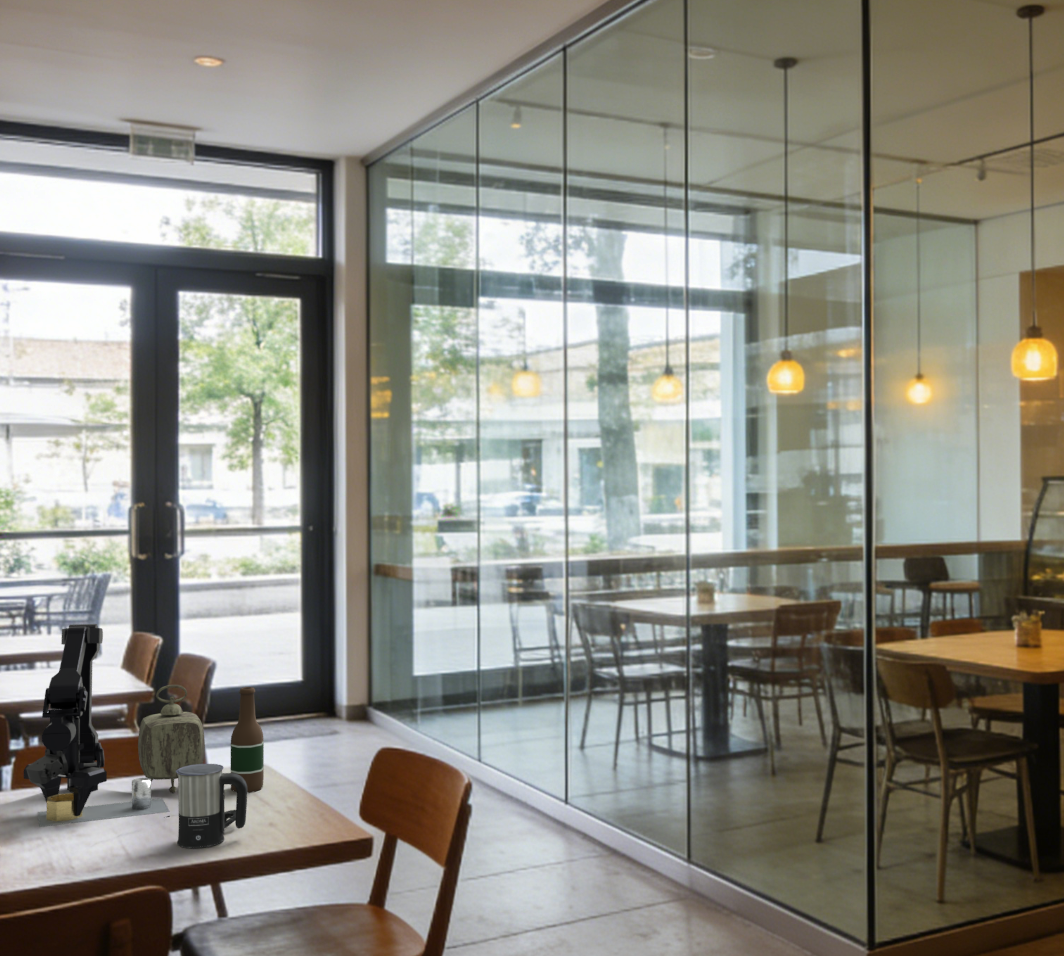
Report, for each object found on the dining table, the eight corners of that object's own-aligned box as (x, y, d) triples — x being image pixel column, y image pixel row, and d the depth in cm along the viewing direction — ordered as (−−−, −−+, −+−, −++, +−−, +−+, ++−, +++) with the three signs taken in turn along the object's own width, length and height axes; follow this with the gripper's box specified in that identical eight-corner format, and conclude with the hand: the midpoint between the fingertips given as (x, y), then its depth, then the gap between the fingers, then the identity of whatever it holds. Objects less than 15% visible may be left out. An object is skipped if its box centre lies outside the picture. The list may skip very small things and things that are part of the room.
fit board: (39, 832, 232) (39, 797, 233) (37, 817, 243) (37, 784, 243) (169, 817, 244) (169, 783, 244) (162, 803, 254) (162, 771, 255)
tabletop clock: (200, 783, 272) (201, 680, 273) (205, 792, 264) (206, 685, 264) (137, 789, 266) (138, 684, 267) (141, 799, 258) (141, 690, 259)
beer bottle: (270, 786, 269) (270, 686, 270) (252, 794, 262) (252, 691, 263) (242, 783, 272) (242, 684, 272) (223, 791, 265) (223, 689, 265)
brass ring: (39, 818, 238) (39, 799, 238) (65, 810, 245) (65, 791, 245) (63, 822, 235) (63, 803, 236) (89, 813, 242) (89, 795, 242)
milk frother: (180, 852, 220) (180, 776, 220) (166, 830, 234) (167, 759, 234) (253, 841, 226) (253, 767, 227) (235, 821, 240) (235, 752, 241)
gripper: (2, 744, 237) (2, 818, 237) (67, 752, 229) (66, 829, 229) (45, 734, 247) (44, 805, 247) (108, 741, 239) (108, 815, 239)
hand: (64, 813), depth 240 cm, fingers closed on brass ring, 7 cm apart
